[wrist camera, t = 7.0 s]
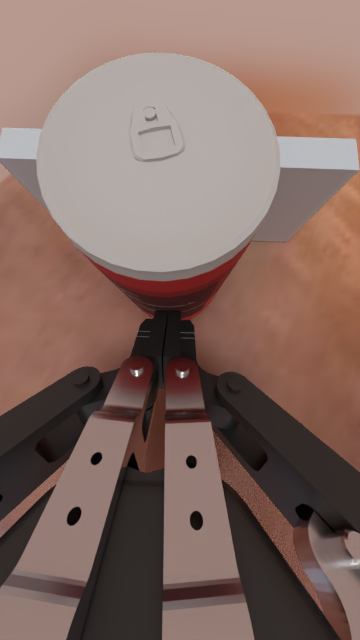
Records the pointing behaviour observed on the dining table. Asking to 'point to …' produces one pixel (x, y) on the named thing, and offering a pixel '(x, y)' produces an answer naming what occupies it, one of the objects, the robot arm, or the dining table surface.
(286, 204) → the stop board
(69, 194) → the canned food
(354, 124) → the dining table surface
